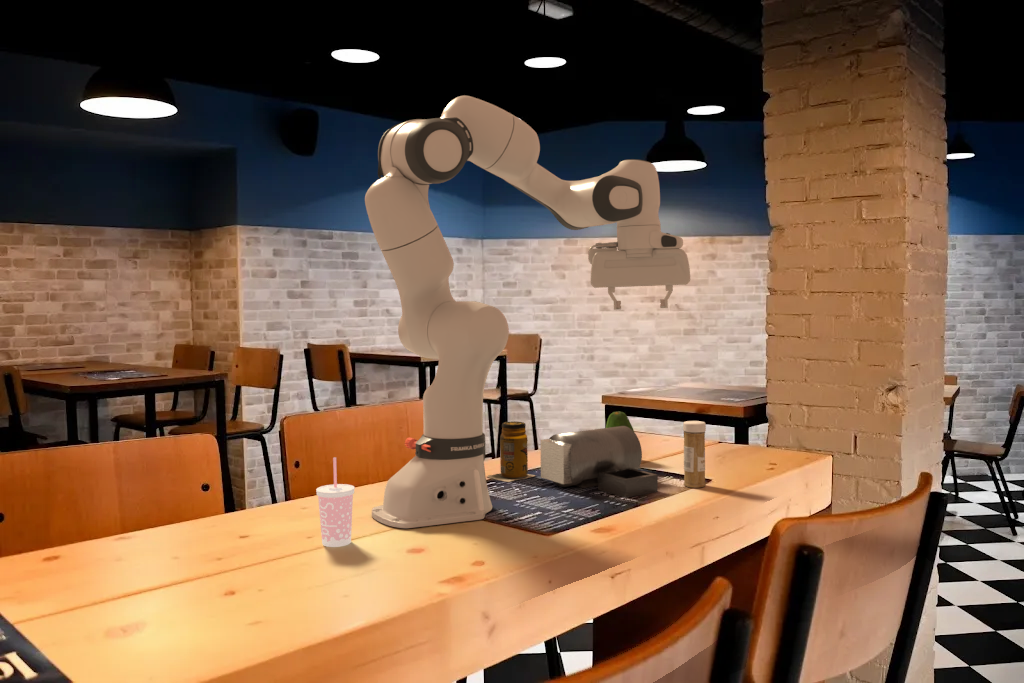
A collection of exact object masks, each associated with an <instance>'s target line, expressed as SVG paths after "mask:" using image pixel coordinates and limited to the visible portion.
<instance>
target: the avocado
mask: <svg viewBox="0 0 1024 683" xmlns="http://www.w3.org/2000/svg"><path fill="white" fill-rule="evenodd" d="M606 420H607V421H606V425H605V428H610V427H618V426H626V427H628V428H630V429H631V430H633V431H634V433H635V430H634V427H633V426H632V422H630V420H629V417H628V415H627V414H626V413H625V412H623V411H619V410H618V411H612V413H610V414H609V415H608V418H607V419H606ZM635 434H636V433H635Z"/></svg>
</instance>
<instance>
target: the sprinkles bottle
mask: <svg viewBox="0 0 1024 683" xmlns="http://www.w3.org/2000/svg"><path fill="white" fill-rule="evenodd" d="M682 428H683V429H682V430H683V471H684V473H683V475H684V476H683V477H684V478H683V481H684V482H683V486H685V487H687V488H693V489H700V488H703V487H706V484H707V483H706V445H705V444H706V442H705V439H706V438H705V436H706V435H705V434H706V431H707V425H706V422H705V421H699V420H687V421H683V425H682Z"/></svg>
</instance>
